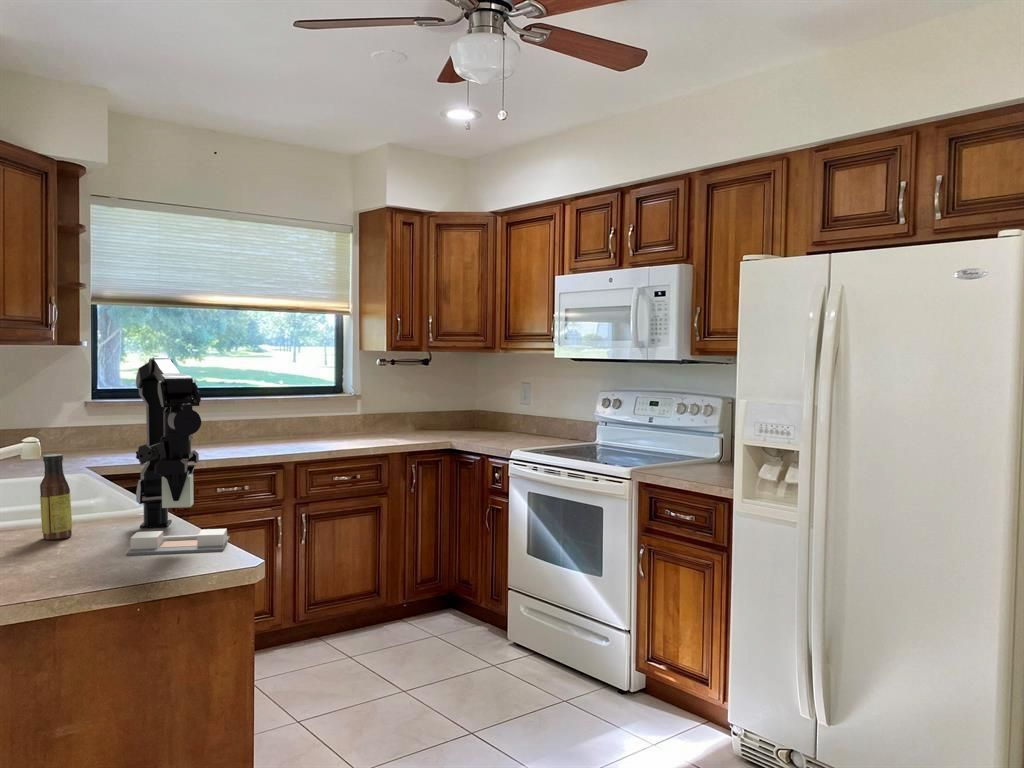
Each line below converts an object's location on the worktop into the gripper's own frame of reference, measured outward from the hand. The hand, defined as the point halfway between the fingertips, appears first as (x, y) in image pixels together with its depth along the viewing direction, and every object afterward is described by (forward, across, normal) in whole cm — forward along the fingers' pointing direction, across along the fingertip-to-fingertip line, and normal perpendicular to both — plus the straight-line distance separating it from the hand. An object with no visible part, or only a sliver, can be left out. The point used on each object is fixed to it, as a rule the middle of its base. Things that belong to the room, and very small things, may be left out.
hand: (177, 499), depth 180 cm
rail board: (+11, 0, 0) cm, 11 cm away
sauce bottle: (+11, -14, -30) cm, 35 cm away
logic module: (+2, 0, 0) cm, 2 cm away
